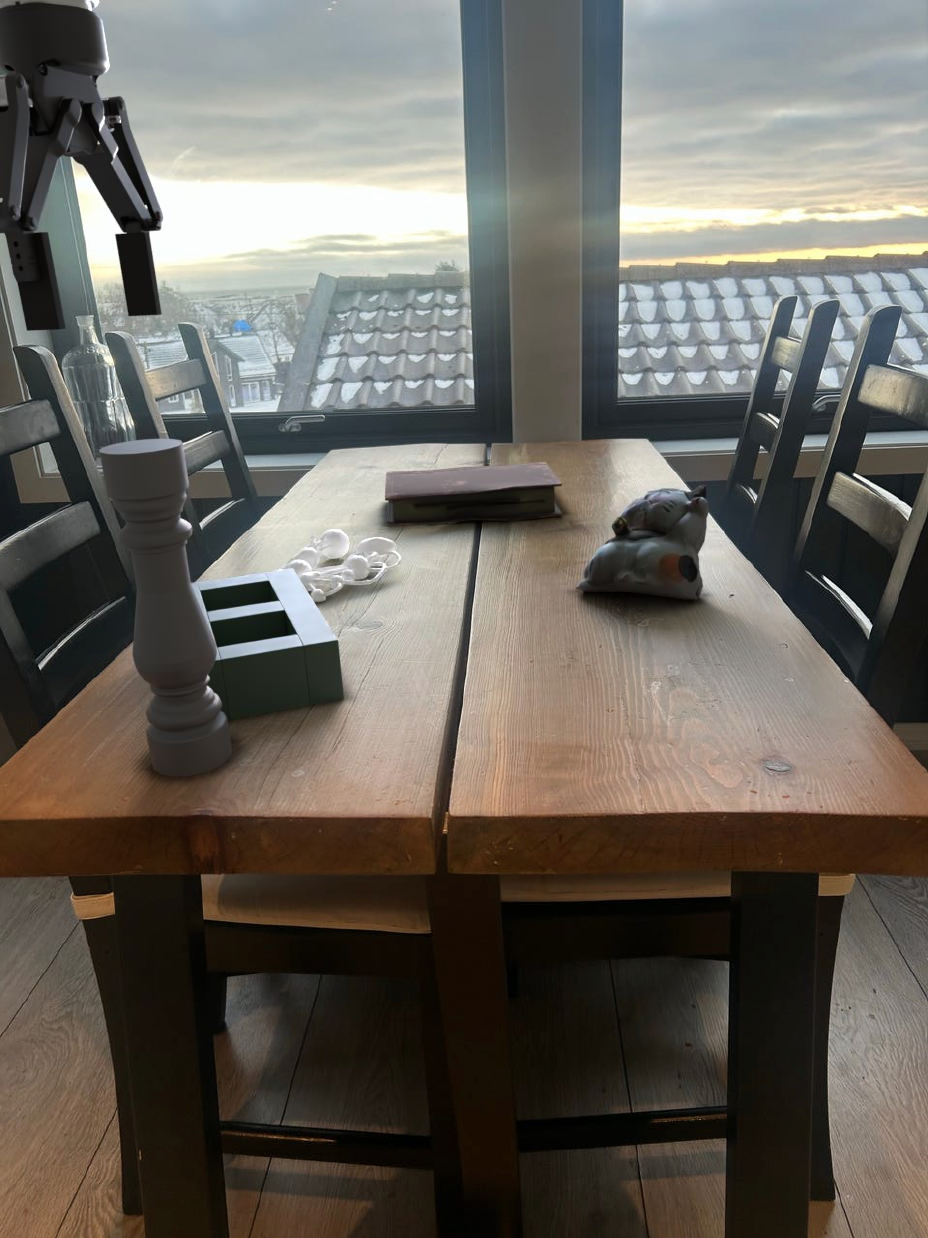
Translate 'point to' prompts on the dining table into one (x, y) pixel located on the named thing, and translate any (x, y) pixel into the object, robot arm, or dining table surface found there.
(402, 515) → the diary
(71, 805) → the dining table surface
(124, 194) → the robot arm
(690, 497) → the lucky cat figurine
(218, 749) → the candle holder
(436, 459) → the dining table surface
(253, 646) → the rack
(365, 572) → the tangled rod sculpture
